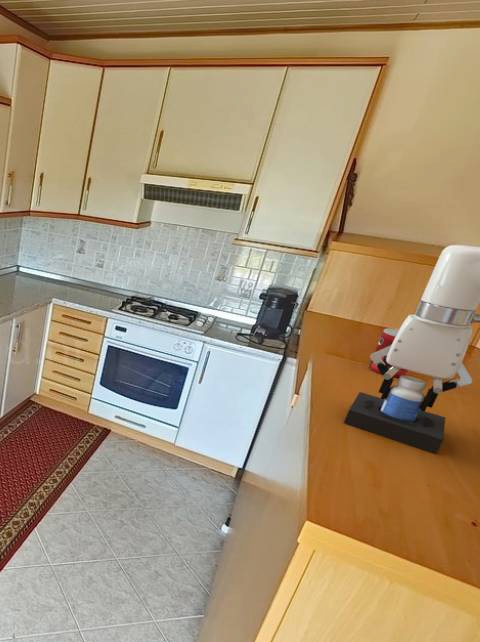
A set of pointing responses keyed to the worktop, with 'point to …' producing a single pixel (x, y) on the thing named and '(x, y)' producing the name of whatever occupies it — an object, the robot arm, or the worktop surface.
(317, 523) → the worktop surface
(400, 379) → the pill bottle
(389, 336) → the canned food
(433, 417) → the socket pad
